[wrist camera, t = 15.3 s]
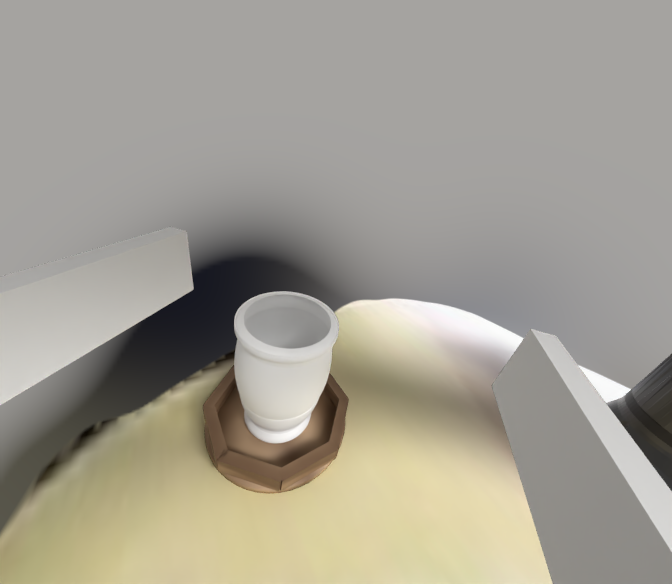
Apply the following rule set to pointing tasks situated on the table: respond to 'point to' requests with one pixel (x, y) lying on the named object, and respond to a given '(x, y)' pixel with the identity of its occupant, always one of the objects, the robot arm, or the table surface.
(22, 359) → the robot arm
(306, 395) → the jar
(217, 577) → the table surface
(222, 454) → the tray
